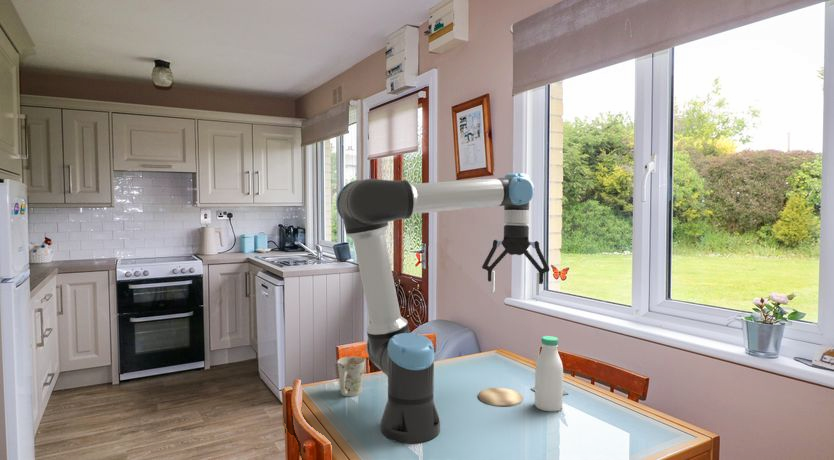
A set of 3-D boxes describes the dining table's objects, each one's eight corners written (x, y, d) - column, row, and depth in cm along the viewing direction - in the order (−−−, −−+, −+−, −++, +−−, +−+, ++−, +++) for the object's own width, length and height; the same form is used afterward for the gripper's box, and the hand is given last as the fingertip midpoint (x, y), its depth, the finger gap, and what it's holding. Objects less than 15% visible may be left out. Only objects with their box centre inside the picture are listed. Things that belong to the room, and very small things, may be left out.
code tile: (547, 398, 147) (547, 396, 147) (530, 389, 155) (530, 387, 155) (568, 394, 151) (568, 392, 151) (551, 385, 158) (551, 384, 158)
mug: (367, 388, 154) (367, 357, 154) (358, 404, 142) (358, 370, 142) (341, 387, 155) (341, 356, 155) (330, 403, 143) (330, 369, 142)
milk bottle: (565, 412, 137) (567, 341, 137) (537, 412, 138) (539, 341, 137) (558, 401, 145) (559, 334, 144) (532, 401, 145) (533, 334, 144)
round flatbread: (493, 409, 139) (493, 407, 139) (470, 393, 151) (470, 391, 151) (531, 402, 145) (531, 400, 144) (506, 387, 156) (506, 385, 156)
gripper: (558, 224, 152) (556, 293, 153) (477, 223, 159) (476, 289, 160) (558, 225, 145) (557, 297, 146) (474, 224, 151) (472, 292, 152)
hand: (514, 293), depth 153 cm, fingers open, 13 cm apart
